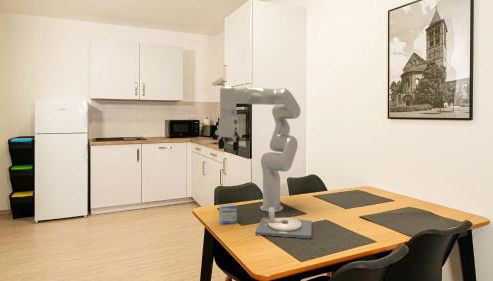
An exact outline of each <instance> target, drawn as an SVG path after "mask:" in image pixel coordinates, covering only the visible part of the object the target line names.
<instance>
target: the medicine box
mask: <svg viewBox="0 0 493 281" xmlns="http://www.w3.org/2000/svg"><path fill="white" fill-rule="evenodd" d="M237 208H238V207H237V204H235V203H231V204H230V203H228V204H219V205H218V212H219V213H218V214H219V218H218V219H219V223H220V225H221V224H224V225H228V224H227V223H233V224H237V223H236V222H237V220H238V218H237V217H238V216H237V211H238V209H237Z"/></svg>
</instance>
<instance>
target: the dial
mask: <svg viewBox="0 0 493 281" xmlns="http://www.w3.org/2000/svg"><path fill="white" fill-rule="evenodd" d="M275 213H276V212H275V208H273V207H270V208H269V212H268V218H269V220H264V222H268V226H269V227H270V228H272V229H274V230H278V231H294V230H298V229H300V228H301V222H300V221H299V220H300V219H297V218H291V217H276V216H275V215H276V214H275Z"/></svg>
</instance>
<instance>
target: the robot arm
mask: <svg viewBox="0 0 493 281" xmlns="http://www.w3.org/2000/svg"><path fill="white" fill-rule="evenodd" d="M219 89H220V90H219V95H220V96H219V109H220V110H219V112H220V113H219V114H220V115H219V118H218V119H219V120H218V129H217V130H215V131H214V134H215V137H216V138H217V141H218V150H224V149H225V140H224V139H225V138H228V139H229V138H231V139H232V140H233V142H232V150H233V151H239V149H240V148H239V147H240V145H239V144H240V141H241V140H242V136H243V135H244V133H243V132H242V131H241V130H240V124H239V123H240V122H239V118H238V116H237V114H238V111H237V105H238V104H241V105H242V104H243V105H244V104H245V105H246V104H247V105H265V106H266V105H269V106H270V105H271V106H273V107H272V110H271V113H272V117H273V120H274V124H275V127H274V131H273V133H272V135H271V139H270V142H269V149H270V150H271V152H265V153H263V155H261V158H260V164H261V169H262V205H260V206H259V209H260V210H261V211H263V212H265V211H266V213H269V208H270V207H273V208H275V213H277V212H278V213H279V212H282V211H283V209H284V207H283V206H282V205H281V175H280V173H279V172H282V173H283V172H284V173H285V172H288V171H289V170H290V169H291V168H292V165H293V163H294V159H295V157H296V154H297V150H298V139H297V138H296V137H295V136H294V135H290V132H291V126H290V124H289V122H288V120H295V119H297V118H299V117H300V116H301V111H302V110H301V107H300V105H299V103H298V102H297V99H296V98H295V97H294V95H293V93H292V92H291V91H290V90H289V89H287V88H264V87H253V88H251V87H250V88H248V87H245V86H244V87H243V86H241V87H240V86H239V87H234V86H222V87H220V88H219ZM272 151H273V152H272Z"/></svg>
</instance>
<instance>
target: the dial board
mask: <svg viewBox="0 0 493 281" xmlns="http://www.w3.org/2000/svg"><path fill="white" fill-rule="evenodd" d="M264 220H269V217H261V219H260V222H259V223H258V225H257V227H256V229H255V232H254V235H255V234H256V235H255V236H257V235H272V236H285V237H284V238H286V237H297V238H296V239H300V238H311V239H312V226H313V225H312V224H313V223H312V222H313V221H312V220H310V219H308V220H307V219H298V220H299V221H300V222H301V228H300V229H298V230H294V231H278V230H274V229H272V228H270V227H269V226H268V222H264Z"/></svg>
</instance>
